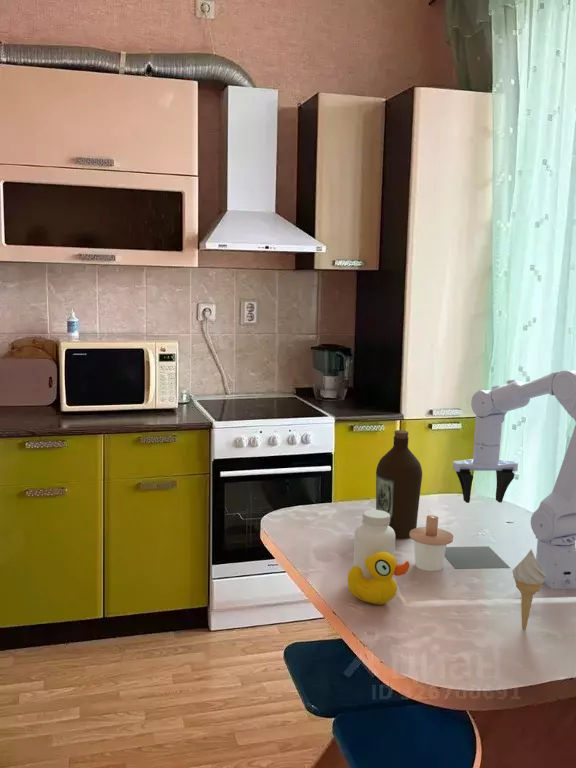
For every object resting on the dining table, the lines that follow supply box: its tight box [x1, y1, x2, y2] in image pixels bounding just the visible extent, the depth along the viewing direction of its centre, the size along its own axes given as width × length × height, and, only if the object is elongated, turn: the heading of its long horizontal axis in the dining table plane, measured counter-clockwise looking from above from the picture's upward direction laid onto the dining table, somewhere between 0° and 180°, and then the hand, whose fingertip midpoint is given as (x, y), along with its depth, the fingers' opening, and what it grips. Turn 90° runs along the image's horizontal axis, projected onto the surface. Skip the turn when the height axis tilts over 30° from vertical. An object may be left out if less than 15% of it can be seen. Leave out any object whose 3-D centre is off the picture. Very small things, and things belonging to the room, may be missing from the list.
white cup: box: [413, 540, 448, 572], centre depth 158 cm, size 7×7×7 cm
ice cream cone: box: [512, 548, 546, 631], centre depth 132 cm, size 6×6×15 cm
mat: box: [444, 545, 511, 570], centre depth 164 cm, size 12×12×1 cm
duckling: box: [347, 551, 410, 605], centre depth 141 cm, size 11×5×10 cm, turn 75°
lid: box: [409, 514, 454, 546], centre depth 157 cm, size 9×9×4 cm
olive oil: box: [375, 429, 423, 540], centre depth 176 cm, size 11×11×25 cm
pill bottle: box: [352, 509, 396, 579], centre depth 148 cm, size 8×8×15 cm
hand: (482, 501), depth 171 cm, fingers open, 7 cm apart
